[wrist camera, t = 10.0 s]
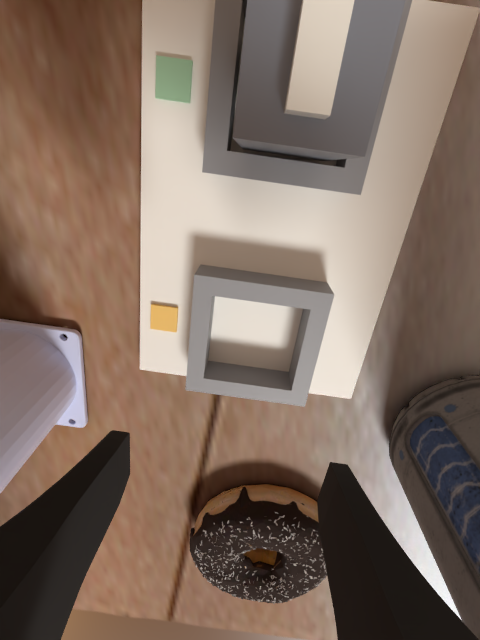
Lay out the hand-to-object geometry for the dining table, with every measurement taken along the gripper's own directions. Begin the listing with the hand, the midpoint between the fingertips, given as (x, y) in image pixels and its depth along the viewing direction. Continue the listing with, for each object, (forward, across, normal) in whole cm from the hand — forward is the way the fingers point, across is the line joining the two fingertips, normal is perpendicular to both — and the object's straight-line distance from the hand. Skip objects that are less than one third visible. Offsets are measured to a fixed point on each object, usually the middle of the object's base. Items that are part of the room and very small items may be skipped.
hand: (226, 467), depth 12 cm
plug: (+10, -1, -12) cm, 16 cm away
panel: (+10, -1, -7) cm, 12 cm away
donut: (+11, -4, +18) cm, 21 cm away
